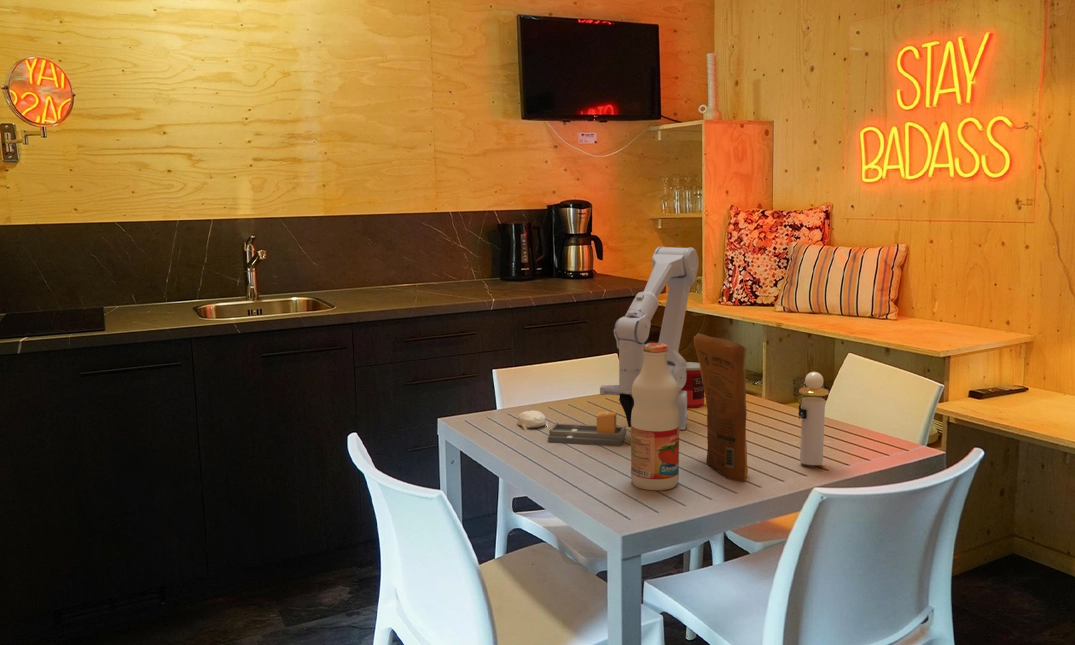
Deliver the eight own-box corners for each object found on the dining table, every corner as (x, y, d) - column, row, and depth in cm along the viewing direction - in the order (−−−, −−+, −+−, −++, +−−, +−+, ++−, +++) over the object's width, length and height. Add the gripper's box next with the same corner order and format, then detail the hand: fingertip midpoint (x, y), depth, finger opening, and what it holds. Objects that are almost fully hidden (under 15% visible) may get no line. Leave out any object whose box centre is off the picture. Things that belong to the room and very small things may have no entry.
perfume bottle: (821, 460, 179) (824, 368, 176) (829, 469, 173) (833, 374, 170) (793, 460, 179) (796, 369, 176) (801, 469, 174) (804, 375, 171)
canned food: (673, 400, 231) (674, 361, 230) (703, 401, 230) (704, 362, 229) (674, 408, 224) (674, 367, 222) (705, 408, 223) (705, 368, 221)
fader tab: (616, 430, 199) (616, 412, 198) (613, 435, 195) (613, 416, 194) (599, 429, 200) (599, 411, 199) (596, 434, 196) (596, 415, 195)
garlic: (552, 428, 208) (552, 413, 207) (527, 432, 205) (527, 417, 204) (538, 420, 215) (537, 406, 214) (513, 424, 212) (513, 409, 211)
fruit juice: (637, 473, 173) (637, 339, 169) (683, 478, 170) (684, 341, 166) (625, 488, 165) (625, 348, 160) (672, 494, 161) (674, 350, 157)
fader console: (626, 433, 201) (626, 423, 201) (620, 446, 192) (620, 435, 191) (557, 430, 205) (557, 420, 205) (548, 442, 196) (547, 432, 195)
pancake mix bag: (727, 486, 165) (730, 346, 161) (689, 456, 183) (691, 330, 179) (759, 483, 166) (762, 343, 162) (718, 454, 185) (720, 328, 180)
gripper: (597, 371, 191) (597, 429, 193) (661, 373, 188) (661, 432, 190) (602, 365, 198) (602, 420, 200) (664, 367, 195) (664, 423, 197)
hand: (631, 426), depth 196 cm, fingers closed
